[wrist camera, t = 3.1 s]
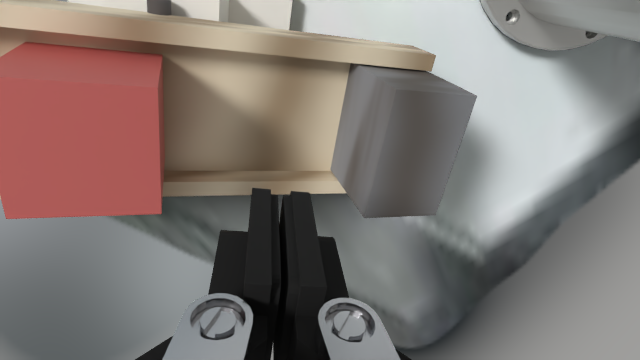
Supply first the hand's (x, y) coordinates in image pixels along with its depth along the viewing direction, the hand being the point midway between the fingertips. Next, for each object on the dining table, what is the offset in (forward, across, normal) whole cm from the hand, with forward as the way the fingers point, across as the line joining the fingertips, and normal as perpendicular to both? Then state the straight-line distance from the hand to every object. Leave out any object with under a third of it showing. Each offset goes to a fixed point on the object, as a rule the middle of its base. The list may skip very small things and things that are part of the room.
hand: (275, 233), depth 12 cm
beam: (+10, +6, 0) cm, 11 cm away
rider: (+8, +8, 0) cm, 11 cm away
